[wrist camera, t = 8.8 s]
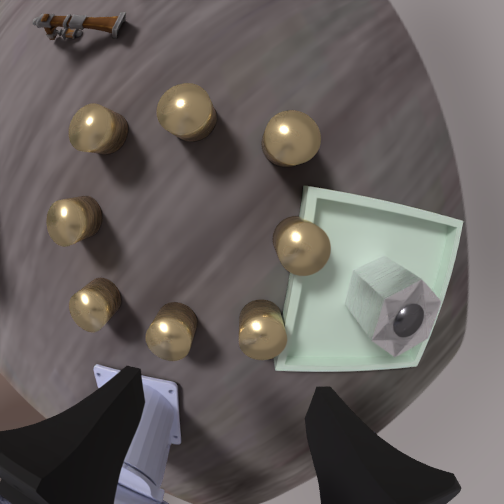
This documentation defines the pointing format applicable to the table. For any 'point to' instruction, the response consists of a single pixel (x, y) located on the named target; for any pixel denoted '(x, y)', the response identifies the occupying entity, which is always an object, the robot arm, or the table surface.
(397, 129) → the table surface
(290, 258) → the set of brass balls
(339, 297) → the tray
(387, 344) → the steel nut
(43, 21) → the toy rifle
